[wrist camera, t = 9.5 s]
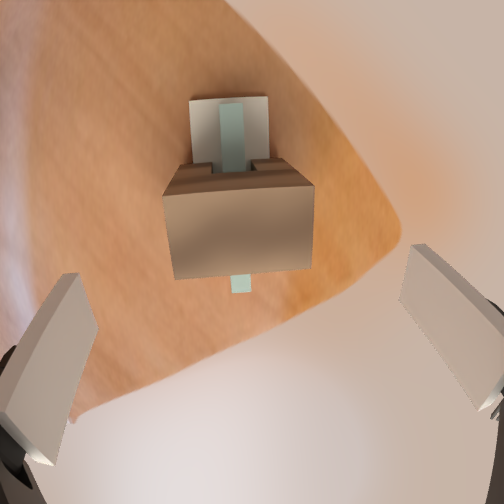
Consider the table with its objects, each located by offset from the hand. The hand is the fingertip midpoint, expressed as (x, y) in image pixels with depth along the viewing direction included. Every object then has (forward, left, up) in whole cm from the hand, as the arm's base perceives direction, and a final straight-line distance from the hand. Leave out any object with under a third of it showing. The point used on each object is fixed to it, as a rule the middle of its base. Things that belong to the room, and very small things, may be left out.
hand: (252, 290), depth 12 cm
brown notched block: (0, 0, -15) cm, 15 cm away
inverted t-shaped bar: (0, 0, -16) cm, 16 cm away
